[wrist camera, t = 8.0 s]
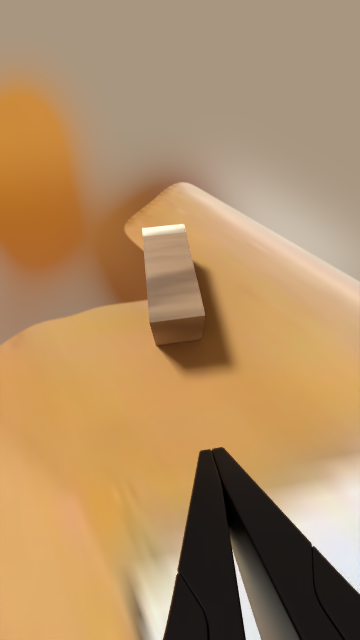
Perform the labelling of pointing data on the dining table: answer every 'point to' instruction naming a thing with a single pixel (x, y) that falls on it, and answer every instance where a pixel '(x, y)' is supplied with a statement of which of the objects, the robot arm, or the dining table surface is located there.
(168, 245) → the cream and brown block
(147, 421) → the dining table surface
